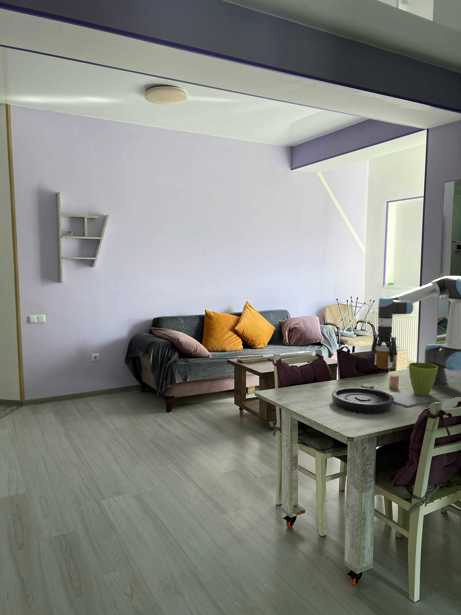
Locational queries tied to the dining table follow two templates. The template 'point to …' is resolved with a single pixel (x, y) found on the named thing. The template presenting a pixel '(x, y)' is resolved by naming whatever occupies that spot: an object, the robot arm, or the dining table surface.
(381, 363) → the disposable coffee cup
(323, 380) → the dining table surface
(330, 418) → the dining table surface
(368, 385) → the walnut block
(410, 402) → the slate board
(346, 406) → the round tray
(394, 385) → the light brown egg
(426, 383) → the flower pot
